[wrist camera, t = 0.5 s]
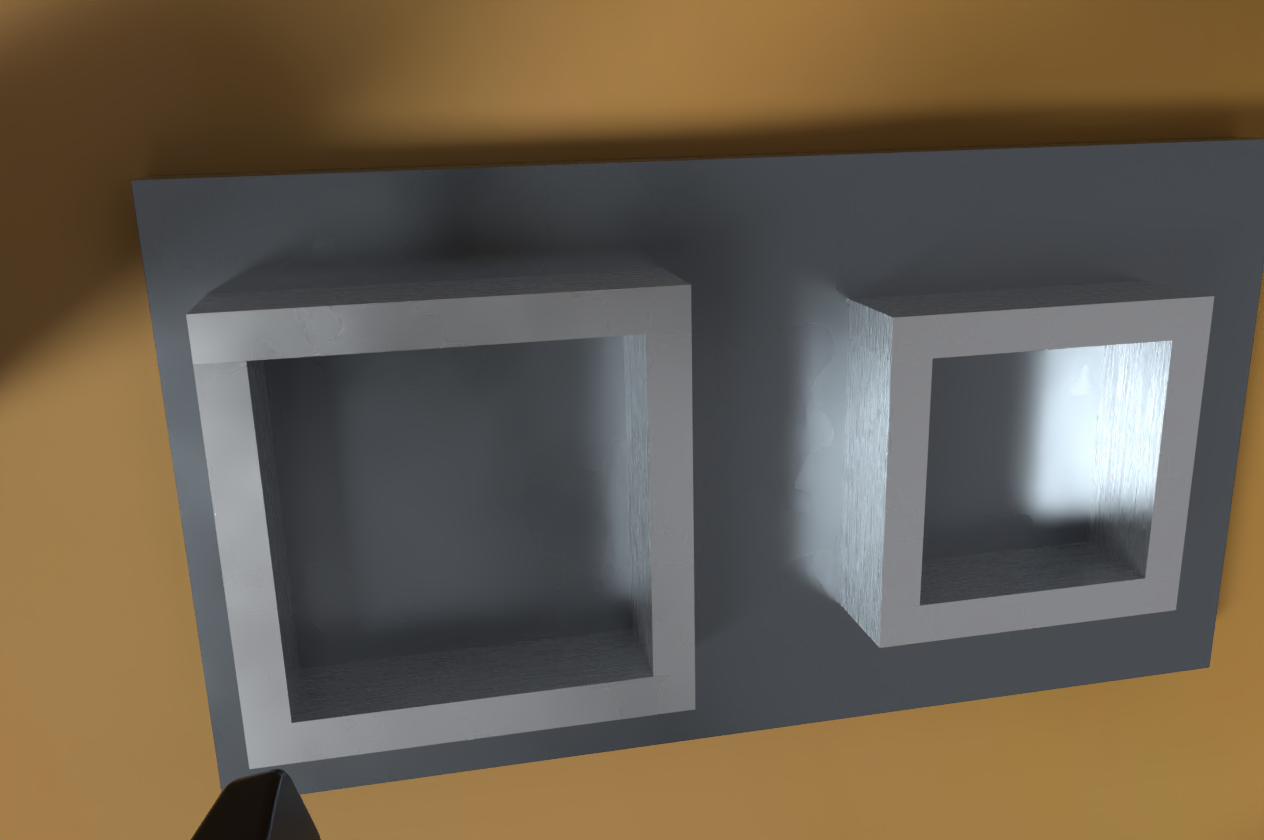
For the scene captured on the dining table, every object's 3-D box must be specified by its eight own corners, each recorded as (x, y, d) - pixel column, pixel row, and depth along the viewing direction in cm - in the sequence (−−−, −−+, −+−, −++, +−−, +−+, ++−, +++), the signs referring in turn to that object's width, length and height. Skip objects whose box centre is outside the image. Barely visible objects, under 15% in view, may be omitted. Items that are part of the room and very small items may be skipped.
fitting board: (1175, 643, 27) (1273, 711, 24) (232, 770, 23) (207, 871, 20) (1237, 137, 24) (1361, 141, 20) (146, 176, 19) (101, 188, 16)
